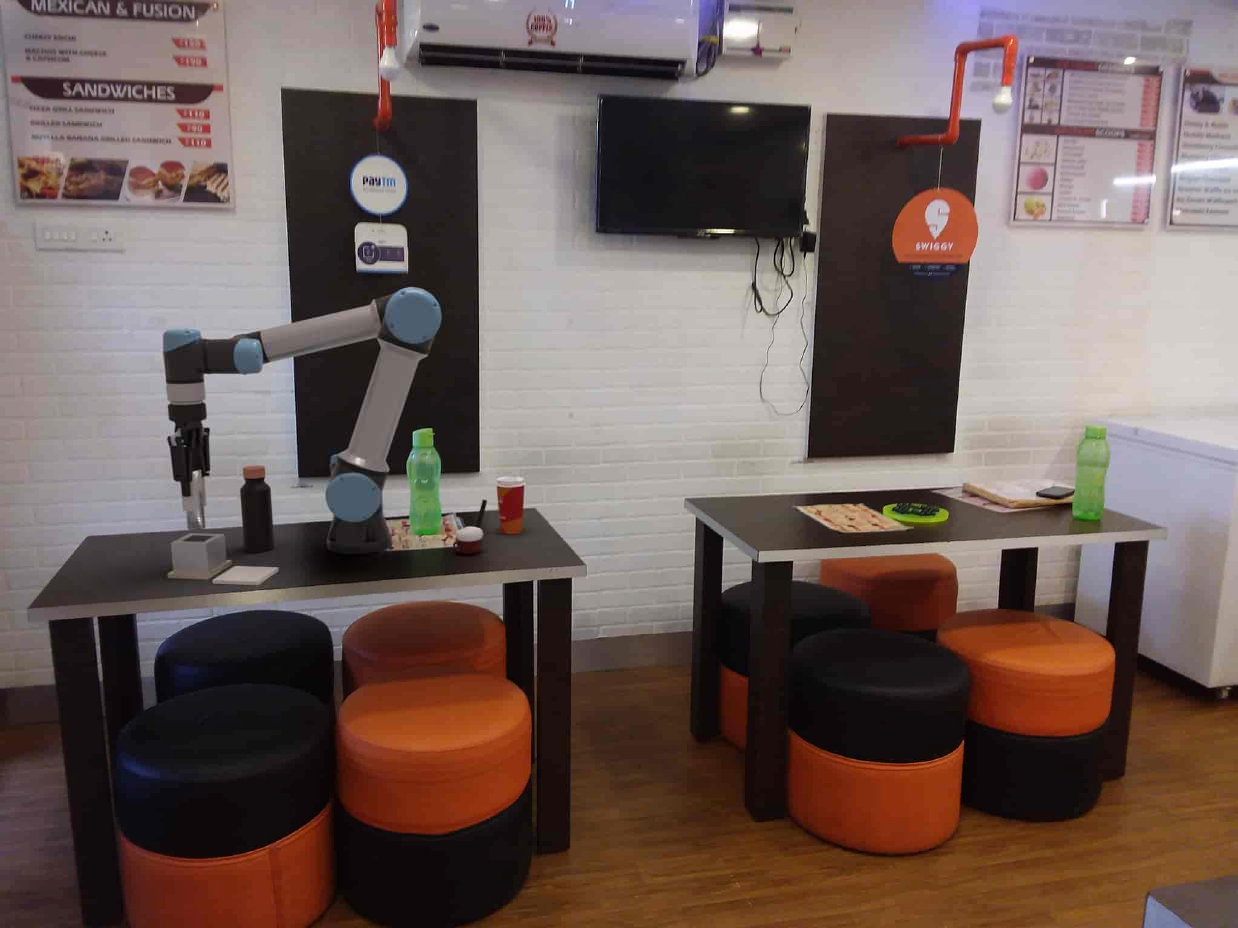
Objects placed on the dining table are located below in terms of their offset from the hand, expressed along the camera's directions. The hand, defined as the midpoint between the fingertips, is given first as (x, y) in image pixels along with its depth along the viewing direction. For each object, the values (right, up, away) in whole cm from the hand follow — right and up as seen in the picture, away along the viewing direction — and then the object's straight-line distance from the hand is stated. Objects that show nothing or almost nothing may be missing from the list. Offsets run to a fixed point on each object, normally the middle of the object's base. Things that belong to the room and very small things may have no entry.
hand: (195, 507), depth 207 cm
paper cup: (+65, -8, +37) cm, 75 cm away
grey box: (0, -14, +5) cm, 15 cm away
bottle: (+6, -11, +20) cm, 24 cm away
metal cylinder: (0, -4, +1) cm, 4 cm away
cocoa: (+58, -12, +19) cm, 62 cm away
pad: (+12, -15, -1) cm, 19 cm away
